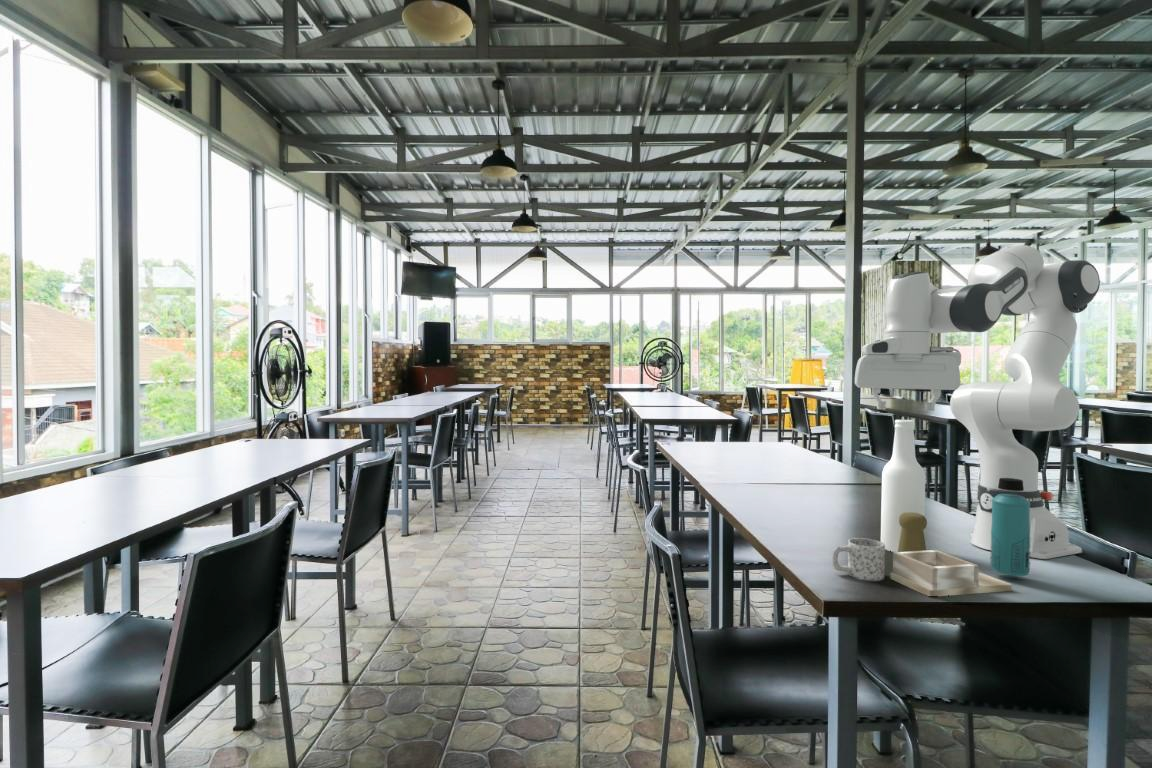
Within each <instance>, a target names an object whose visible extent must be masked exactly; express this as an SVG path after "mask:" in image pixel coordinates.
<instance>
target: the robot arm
mask: <svg viewBox="0 0 1152 768" xmlns="http://www.w3.org/2000/svg"><path fill="white" fill-rule="evenodd" d="M1044 261H1045V260H1044V257H1043V255H1042V253H1041V252H1040V251H1039V250H1038V249H1036V248H1035V247H1033V246H1030V245H1025V244H1019V245H1013V246H1010V247H1009V246H1008V247H1006V248H1002V249H999V250H996V251H995V252H993V253H991V254H989V255H987V256H985V257H983V258H982V259H980V260H978V261H977V262H976V263H975V264H974V265H973V266H972V267H971V268H970V270H969V272H968V275H967V285H964V286H959V287H957V286H956V287H951V288H950V287H949V288H940V289H939V287H937V286H935V285H934V284H933V283H932V282H931V277H930V274H929V272H928V271H923V270H921V271H920V270H919V271H913V272H907V273H900V274H896V275H893V277H891V278H890V279H889V281H888V284H887V289H886V296H885V304H884V305H885V306H884V307H885V310H884V313H885V314H884V315H885V318H886V326H885V329H884V338H883V339H878V340H875V341H873V342H868V343H866V344H864V345H863V346H861V354H863V355H862V356H861V357H859V359H858V360H857V363H856V367H855V373H854V385H855V386H856V387H857V388H863V389H871V395H872V396H873V398H874V399H875V401H876V409H877V410H886V406H887V405H886V402H887V401H885V400H882V399H881V398H880V396H879V394H881V389H898V390H899V389H901V390H902V389H903V390H904V389H905V390H930V395H933V396H932V397H931V399H930V400H929V401H928V402H924V411H925V412H926V411H928V412H935V404H936V402H937V401H938V400H939V398H940V397H941V395H942V391H944V390H945V391H948V390H949V391H953V392H952V394H951V396H950V401H949V405H950V406H949V408H950V411H951V413H952V415H953V416H954V418H955V419H956V421H958V422H959V423H961V424H962V425H963V426H964V427H965V428H966V429H967V431H969V433H970V434H971V437H973V440H974V442H975V444H976V448H977V449H978V455H979V473H980V474H979V476H980V477H979V480H980V481H979V484H978V485H977V490H976V491H977V492H976V493H977V496H976V497H977V500H978V505H977V507H976V512H975V518H974V519H975V520H974V525H973V532H971V533H970V538H971V539H970V543H971V544H972V545H974V546H975V547H978V548H981V549H984V550H987V551H988V550H989V551H991V548H990V545H991V542H990V541H991V536H990V535H991V528H992V499H993V498H994V497H995V496H997V495H998V494H1012V495H1019V496H1023V497H1024V498H1026V499H1027V500H1028V501H1029V502H1030V526H1031V528H1030V537H1031V538H1030V539H1031V540H1030V545H1031V546H1030V551H1031V552H1030V554H1029V558H1035V559H1038V560H1039V559H1040V560H1049V559H1054V558H1059V557H1064V556H1069V555H1076V554H1082V553H1083V549H1082V547H1080V546H1079V545H1076V544H1073V543H1070V539H1069V530H1068V526H1067V525H1066V524H1065V522H1064V521H1062V520H1061V519H1060V518H1059V517H1057V516H1056V515H1055V514H1053V512H1052V511H1050V510H1048V509H1047V508H1046V507H1045V502H1044V501H1043V500H1046V501H1048V502H1051V501H1053V499H1054V493H1053V492H1051V491H1045V490H1042V491H1040V490H1039V489H1038V487H1039V486H1038V485H1039V484H1038V482H1039V460H1038V457H1037V455H1036V453H1035V452H1034V451H1032V450H1031V449H1030V448H1028V447H1026V446H1025V445H1023V444H1022V443H1019V441H1018V440H1017V439H1016V438H1015V435H1014V433H1013V430H1022V431H1031V432H1032V431H1035V432H1047V431H1057V430H1066V429H1067V428H1070V426H1072V425H1073V424H1074V422H1075V421H1076V420H1077V418H1078V417H1079V416H1078V415H1079V414H1080V413H1079V412H1080V403H1079V399H1078V396H1077V395H1076V394H1075V392H1074V391H1073V390H1071V388H1070V387H1068V386H1066V385H1064V383H1062V382H1061V380H1060V376H1061V373H1062V372H1061V371H1062V369H1063V367H1064V365H1065V363H1066V361H1067V359H1068V357H1069V354H1070V353H1071V350H1072V348H1073V345H1074V343H1075V339H1076V334H1077V329H1078V323H1077V320H1076V319H1075V317H1074V314H1080V313H1082V312H1084V311H1085V310H1086V309H1087V308H1088V304H1090V303H1091V302H1092V301H1093V299H1094V298H1095V297H1096V295H1097V293H1098V292H1099V290H1100V287H1101V278H1100V275H1099V272H1098V270H1097V269H1096V267H1095V266H1094V265H1093V264H1092V263H1091V262H1090V261H1087V260H1083V259H1082V260H1077V259H1076V260H1075V259H1074V260H1067V261H1064V262H1062V263H1061V262H1058V263H1052V264H1047V265H1045V264H1044V263H1045V262H1044ZM1023 314H1024V315H1026V314H1029V319H1028V321H1027V322H1026V324H1025V325H1024V326H1023V328H1022V329H1021V330H1020V332H1019V334H1018V335H1017V337H1016V339H1015V340H1014V342H1013V343H1012V346H1011V347H1010V349H1009V351H1008V353H1007V354H1006V356H1005V358H1004V370H1005V371H1006V373H1007V375H1008V376H1009V377H1010V378H1011V379H1013V380H1014V381H976V382H970V383H965V384H961V372H960V371H961V370H960V366H961V364H962V353H961V352H960V351H959V349H956V348H955V347H954V346H945V347H944V346H931V340H932V339H931V337H932V334H944V333H945V334H946V333H962V332H963V333H964V332H965V333H984V332H987V331H989V330H990V329H991V328H993V327H994V325H996V323H997V322H998V321H999V319H1000V318H1001V316H1002V315H1004V316H1010V317H1011V316H1013V317H1014V316H1022V315H1023ZM1000 478H1014V479H1020V480H1022V481H1023V487H1024V490H1023V491H1010V490H1003V489H999V488H998V485H999V479H1000Z"/></svg>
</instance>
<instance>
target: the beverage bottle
mask: <svg viewBox="0 0 1152 768" xmlns="http://www.w3.org/2000/svg"><path fill="white" fill-rule="evenodd" d="M998 488H999V489H1003V490H1010V491H1023V490H1024V487H1023V481H1022V480H1020V479H1014V478H1000V479H999V485H998ZM1030 528H1031V526H1030V502H1029V501H1028V500H1027V499H1026V498H1024V497H1023V496H1019V495H1012V494H998V495H997V496H995V497H994V498H993V499H992V528H991V535H990V536H991V541H990V542H991V545H990V548H991V550H989V551H990V555H989V556H990V557H989V558H990V559H989V560H990V562H989V563H990V564H989V565H990V566H991V569H992V570H993V571H995V572H997V573H1000V574H1004V575H1008V576H1016V577H1024V576H1028V575H1029V574H1030V568H1031V561H1030V557H1029V554H1030V552H1031V551H1030V546H1031V545H1030V540H1031V539H1030V538H1031V537H1030Z"/></svg>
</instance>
